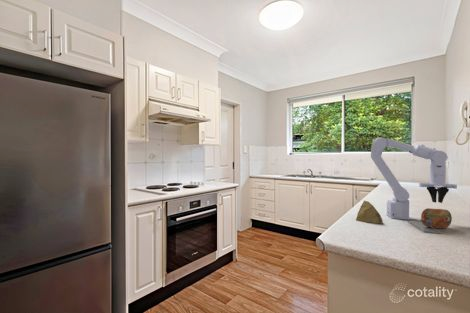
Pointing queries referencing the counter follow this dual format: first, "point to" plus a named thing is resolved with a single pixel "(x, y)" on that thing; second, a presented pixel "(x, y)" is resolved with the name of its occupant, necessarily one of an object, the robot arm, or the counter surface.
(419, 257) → the counter surface
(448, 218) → the tin
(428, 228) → the gray sheet
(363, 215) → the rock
